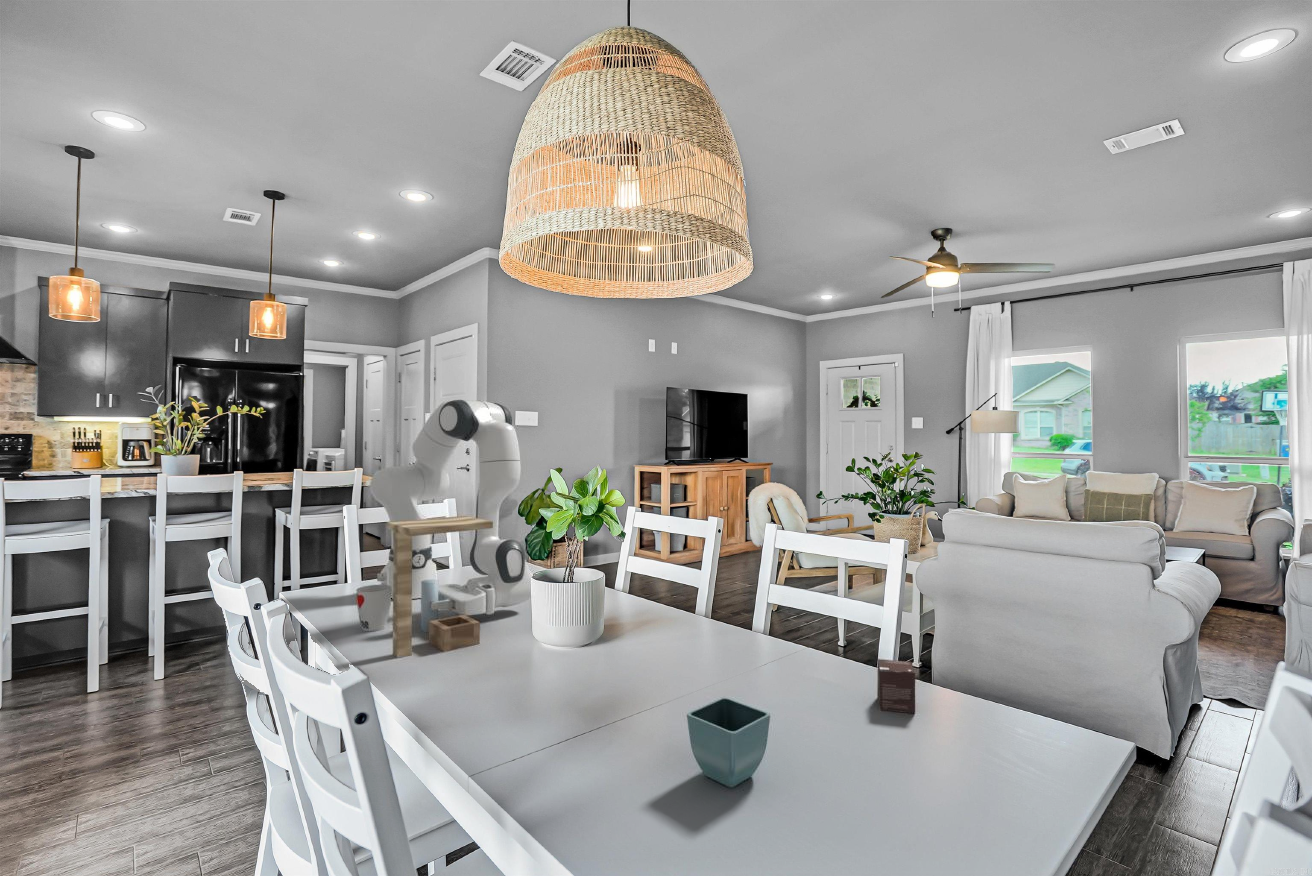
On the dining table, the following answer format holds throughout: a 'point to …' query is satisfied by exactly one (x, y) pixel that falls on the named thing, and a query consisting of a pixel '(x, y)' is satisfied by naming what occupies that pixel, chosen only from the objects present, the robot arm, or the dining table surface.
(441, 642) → the socket block
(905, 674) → the box
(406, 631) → the wooden l-shaped post
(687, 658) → the dining table surface
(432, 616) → the peg
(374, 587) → the cup
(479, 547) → the robot arm
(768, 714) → the flower pot
